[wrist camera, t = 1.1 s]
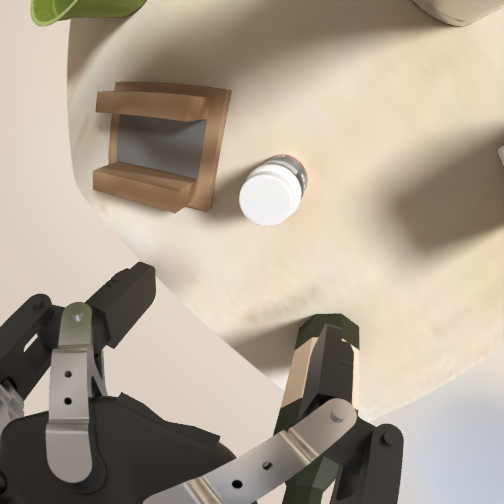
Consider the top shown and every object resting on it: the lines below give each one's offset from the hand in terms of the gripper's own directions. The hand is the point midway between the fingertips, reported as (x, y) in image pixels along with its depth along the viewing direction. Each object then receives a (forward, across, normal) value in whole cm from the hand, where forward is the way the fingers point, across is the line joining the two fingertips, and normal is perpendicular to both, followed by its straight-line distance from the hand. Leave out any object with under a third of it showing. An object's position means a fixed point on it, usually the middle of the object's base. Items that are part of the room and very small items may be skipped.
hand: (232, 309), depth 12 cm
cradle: (+19, +15, -2) cm, 24 cm away
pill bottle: (+19, +1, -1) cm, 19 cm away
